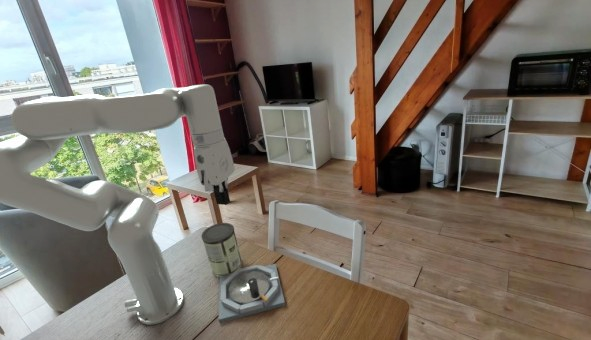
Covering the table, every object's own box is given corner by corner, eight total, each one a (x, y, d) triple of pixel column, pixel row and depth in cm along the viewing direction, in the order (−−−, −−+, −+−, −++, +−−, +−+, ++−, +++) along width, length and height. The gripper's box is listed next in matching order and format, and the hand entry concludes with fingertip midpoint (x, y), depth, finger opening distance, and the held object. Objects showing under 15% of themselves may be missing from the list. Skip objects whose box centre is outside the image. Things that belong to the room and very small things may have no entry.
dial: (224, 285, 89) (219, 269, 87) (259, 268, 95) (256, 253, 92) (238, 312, 80) (233, 294, 77) (277, 291, 85) (274, 274, 83)
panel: (219, 322, 79) (217, 314, 78) (220, 280, 94) (218, 272, 93) (285, 305, 82) (283, 297, 80) (276, 266, 97) (274, 259, 96)
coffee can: (217, 256, 105) (208, 223, 100) (245, 256, 104) (237, 221, 98) (206, 278, 96) (195, 242, 90) (237, 277, 94) (228, 240, 89)
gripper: (203, 147, 65) (221, 219, 71) (236, 128, 78) (248, 190, 84) (175, 147, 67) (195, 217, 74) (211, 129, 80) (225, 189, 87)
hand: (223, 202), depth 79 cm, fingers closed
